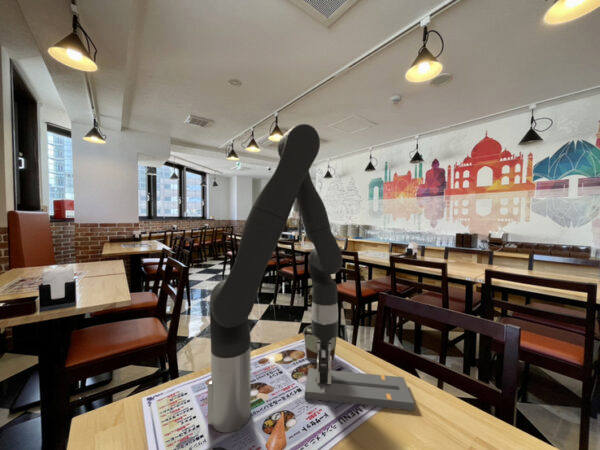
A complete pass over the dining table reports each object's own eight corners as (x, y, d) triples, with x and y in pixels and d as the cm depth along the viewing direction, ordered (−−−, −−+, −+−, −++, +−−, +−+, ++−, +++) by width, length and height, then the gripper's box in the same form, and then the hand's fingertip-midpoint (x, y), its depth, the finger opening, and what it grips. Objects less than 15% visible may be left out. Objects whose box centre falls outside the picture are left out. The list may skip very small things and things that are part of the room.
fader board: (304, 398, 65) (304, 390, 65) (308, 374, 75) (308, 368, 75) (414, 410, 62) (414, 402, 61) (403, 383, 71) (403, 376, 71)
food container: (337, 351, 89) (337, 324, 88) (338, 361, 83) (338, 332, 82) (303, 349, 90) (303, 322, 90) (302, 358, 84) (302, 330, 83)
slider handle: (316, 382, 68) (316, 361, 68) (317, 374, 72) (317, 354, 71) (331, 384, 68) (331, 363, 67) (331, 376, 71) (331, 355, 71)
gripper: (313, 307, 77) (313, 358, 77) (308, 327, 62) (308, 389, 63) (337, 308, 76) (337, 360, 76) (338, 329, 61) (337, 392, 62)
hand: (324, 373), depth 70 cm, fingers open, 7 cm apart
